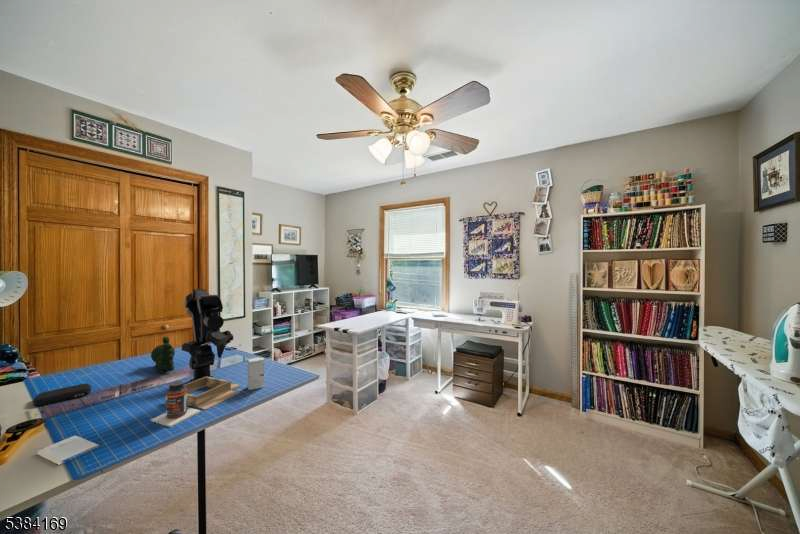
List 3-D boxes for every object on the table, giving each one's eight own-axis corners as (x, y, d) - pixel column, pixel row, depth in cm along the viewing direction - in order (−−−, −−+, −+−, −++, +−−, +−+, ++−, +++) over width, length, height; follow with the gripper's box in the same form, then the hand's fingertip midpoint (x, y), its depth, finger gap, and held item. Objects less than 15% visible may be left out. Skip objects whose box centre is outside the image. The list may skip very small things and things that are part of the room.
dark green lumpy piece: (179, 376, 140) (172, 358, 158) (179, 338, 138) (172, 324, 156) (154, 382, 134) (149, 362, 152) (153, 342, 132) (149, 327, 150)
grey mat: (150, 421, 99) (150, 419, 99) (181, 407, 109) (181, 405, 109) (170, 427, 96) (170, 425, 96) (200, 412, 105) (200, 410, 105)
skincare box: (248, 390, 123) (248, 362, 122) (247, 386, 126) (247, 359, 126) (264, 387, 126) (264, 359, 126) (262, 383, 130) (262, 356, 129)
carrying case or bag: (32, 410, 106) (91, 396, 117) (32, 402, 106) (91, 388, 117) (35, 400, 113) (90, 388, 124) (35, 392, 113) (90, 381, 124)
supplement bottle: (163, 421, 98) (163, 388, 98) (168, 412, 104) (167, 381, 103) (185, 416, 101) (185, 384, 101) (188, 408, 106) (188, 378, 106)
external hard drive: (58, 468, 78) (35, 456, 82) (99, 449, 86) (76, 439, 90) (58, 462, 78) (35, 450, 82) (99, 444, 86) (76, 434, 90)
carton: (169, 400, 114) (169, 390, 113) (216, 380, 132) (216, 372, 132) (205, 410, 107) (205, 399, 107) (249, 387, 125) (249, 378, 125)
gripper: (199, 333, 111) (200, 373, 112) (242, 322, 128) (242, 357, 129) (180, 329, 115) (181, 368, 116) (224, 319, 132) (224, 353, 133)
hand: (209, 361), depth 123 cm, fingers open, 9 cm apart
